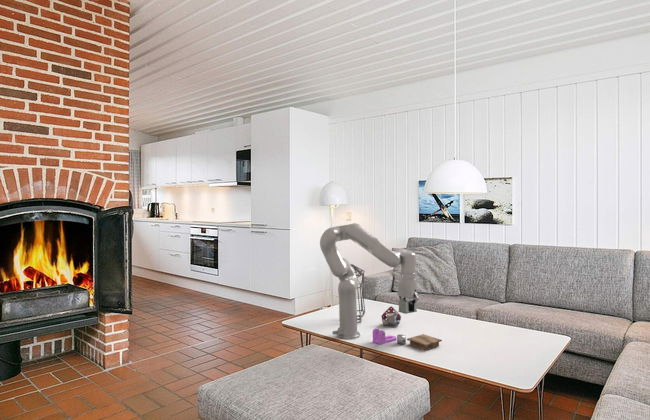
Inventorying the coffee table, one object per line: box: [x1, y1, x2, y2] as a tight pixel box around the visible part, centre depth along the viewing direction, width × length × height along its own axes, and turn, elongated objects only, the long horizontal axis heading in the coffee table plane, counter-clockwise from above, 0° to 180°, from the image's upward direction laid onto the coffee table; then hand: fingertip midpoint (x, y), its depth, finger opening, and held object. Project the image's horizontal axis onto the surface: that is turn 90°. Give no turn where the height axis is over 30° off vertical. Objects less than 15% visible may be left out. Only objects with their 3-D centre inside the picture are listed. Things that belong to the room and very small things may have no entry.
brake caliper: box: [381, 305, 402, 328], centre depth 245 cm, size 11×11×12 cm
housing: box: [397, 298, 418, 315], centre depth 221 cm, size 9×5×6 cm, turn 125°
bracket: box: [372, 327, 397, 346], centre depth 218 cm, size 13×6×7 cm, turn 124°
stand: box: [406, 333, 443, 351], centre depth 210 cm, size 12×12×3 cm
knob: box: [396, 334, 407, 346], centre depth 214 cm, size 4×4×4 cm
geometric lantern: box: [350, 263, 366, 324], centre depth 257 cm, size 16×16×35 cm
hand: (407, 309), depth 221 cm, fingers closed on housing, 5 cm apart
